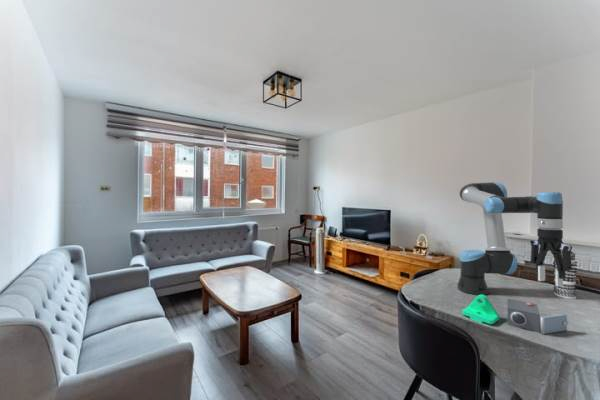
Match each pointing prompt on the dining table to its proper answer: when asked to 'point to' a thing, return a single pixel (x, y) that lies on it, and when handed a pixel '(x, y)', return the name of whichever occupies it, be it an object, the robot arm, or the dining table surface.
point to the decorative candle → (567, 281)
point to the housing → (523, 315)
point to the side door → (553, 323)
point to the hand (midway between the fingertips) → (550, 283)
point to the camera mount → (481, 310)
